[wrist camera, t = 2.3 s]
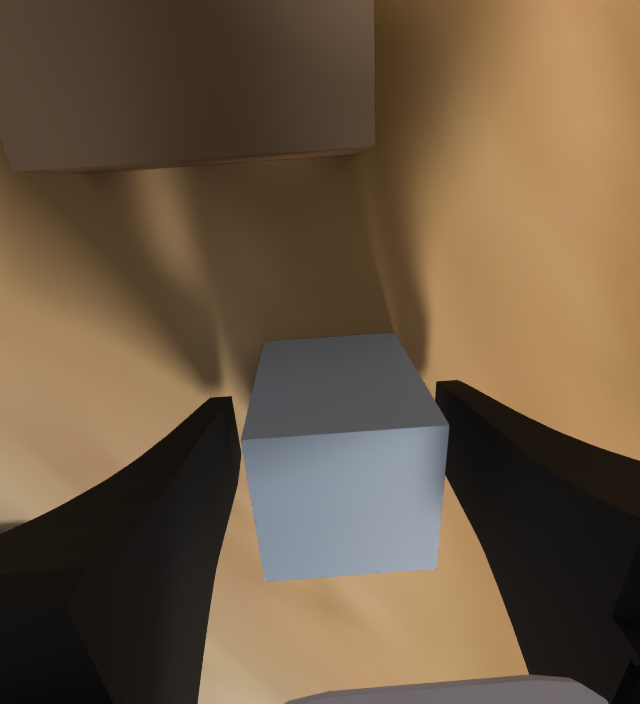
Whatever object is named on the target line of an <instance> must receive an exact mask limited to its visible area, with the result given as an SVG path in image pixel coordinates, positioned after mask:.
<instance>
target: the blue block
mask: <svg viewBox="0 0 640 704" xmlns="http://www.w3.org/2000/svg"><path fill="white" fill-rule="evenodd" d="M448 435H449V424H448V422H447V420H446V419H445V417H444V415H443V414H442V412H441V410H440V409H439V407H438V405H437V403H436V402H435V400H434V398H433V397H432V395H431V393H430V392H429V390H428V388H427V387H426V385H425V383H424V382H423V380H422V378H421V376H420V375H419V373H418V371H417V370H416V368H415V366H414V365H413V363H412V361H411V360H410V358H409V356H408V355H407V353H406V351H405V350H404V348H403V346H402V344H401V343H400V341H399V339H398V338H397V336H396V334H395V333H394V332H392V333H378V334H363V335H349V336H335V337H320V338H306V339H291V340H277V341H264V344H263V348H262V352H261V357H260V361H259V365H258V369H257V374H256V378H255V382H254V386H253V391H252V395H251V399H250V403H249V408H248V412H247V416H246V420H245V425H244V429H243V433H242V437H241V444H242V450H243V456H244V462H245V468H246V474H247V479H248V485H249V491H250V497H251V503H252V509H253V515H254V521H255V527H256V533H257V538H258V544H259V550H260V556H261V562H262V568H263V574H264V580H265V582H270V581H283V580H296V579H309V578H322V577H335V576H348V575H361V574H374V573H387V572H400V571H414V570H427V569H436V567H437V556H438V545H439V534H440V523H441V512H442V501H443V490H444V479H445V468H446V457H447V446H448Z"/></svg>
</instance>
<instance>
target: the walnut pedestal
mask: <svg viewBox="0 0 640 704" xmlns="http://www.w3.org/2000/svg"><path fill="white" fill-rule="evenodd" d="M0 140H1V143H2V146H3V148H4V151H5V154H6V157H7V160H8V163H9V166H10V169H11V171H12V172H29V173H71V174H86V173H101V172H115V171H129V170H143V169H157V168H171V167H185V166H199V165H214V164H228V163H242V162H256V161H270V160H284V159H298V158H312V157H327V156H341V155H355V154H359V153H362V152H364V151H366V150H368V149H371V148H373V147H375V39H374V0H0Z"/></svg>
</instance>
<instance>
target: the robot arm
mask: <svg viewBox="0 0 640 704" xmlns="http://www.w3.org/2000/svg"><path fill="white" fill-rule="evenodd" d="M435 402H436V403H437V405H438V407H439V409H440V410H441V412H442V414H443V415H444V417H445V419H446V420H447V422H448V424H449V435H448V446H447V457H446V468H445V475H446V477H447V479H448V481H449V483H450V485H451V487H452V489H453V491H454V493H455V495H456V496H457V498H458V500H459V502H460V504H461V506H462V508H463V510H464V512H465V514H466V516H467V518H468V520H469V522H470V523H471V525H472V527H473V529H474V531H475V533H476V535H477V537H478V539H479V541H480V544H481V546H482V548H483V550H484V552H485V555H486V557H487V560H488V562H489V565H490V568H491V570H492V573H493V575H494V578H495V580H496V583H497V585H498V588H499V591H500V593H501V596H502V599H503V601H504V604H505V607H506V610H507V612H508V615H509V618H510V620H511V623H512V626H513V629H514V631H515V634H516V637H517V640H518V643H519V646H520V649H521V652H522V655H523V658H524V660H525V663H526V666H527V669H528V672H529V675H519V676H507V677H495V678H483V679H471V680H459V681H447V682H435V683H423V684H411V685H399V686H387V687H375V688H363V689H351V690H338V691H328V692H324V693H320V694H316V695H311V696H307V697H303V698H299V699H294V700H290V701H288V702H286V703H285V704H640V461H638V460H635V459H632V458H629V457H626V456H623V455H620V454H617V453H613V452H610V451H607V450H605V449H602V448H599V447H596V446H593V445H591V444H588V443H586V442H583V441H581V440H578V439H576V438H573V437H570V436H568V435H565V434H563V433H561V432H558V431H556V430H554V429H552V428H549V427H547V426H545V425H543V424H541V423H539V422H537V421H535V420H533V419H531V418H528V417H526V416H525V415H523V414H521V413H519V412H517V411H515V410H513V409H511V408H509V407H507V406H505V405H504V404H502V403H500V402H498V401H496V400H494V399H493V398H491V397H489V396H487V395H485V394H484V393H482V392H480V391H478V390H476V389H475V388H473V387H471V386H469V385H467V384H465V383H463V382H461V381H458V380H452V381H438V382H436V396H435ZM240 461H241V449H240V443H239V437H238V431H237V425H236V420H235V414H234V408H233V402H232V396H228V397H214V398H210V399H208V400H207V401H206V402H205V403H203V404H202V405H201V406H200V407H199V408H198V409H197V410H195V411H194V412H193V413H192V414H191V415H190V416H189V417H188V418H187V419H185V420H184V421H183V422H182V423H181V424H180V425H179V426H177V427H176V428H175V429H174V430H173V431H172V432H171V433H169V434H168V435H167V436H166V437H165V438H163V439H162V440H161V441H159V442H158V443H157V444H156V445H154V446H153V447H152V448H151V449H149V450H148V451H147V452H146V453H144V454H143V455H142V456H140V457H139V458H138V459H136V460H135V461H134V462H132V463H131V464H129V465H128V466H126V467H125V468H123V469H122V470H120V471H119V472H117V473H116V474H114V475H113V476H111V477H110V478H108V479H107V480H105V481H103V482H102V483H100V484H98V485H96V486H95V487H93V488H91V489H89V490H88V491H86V492H84V493H82V494H81V495H79V496H77V497H75V498H74V499H72V500H70V501H68V502H66V503H65V504H63V505H61V506H59V507H57V508H55V509H53V510H51V511H49V512H47V513H45V514H43V515H41V516H39V517H37V518H35V519H33V520H30V521H28V522H26V523H24V524H22V525H20V526H18V527H15V528H13V529H11V530H9V531H6V532H4V533H2V534H0V704H197V703H198V695H199V686H200V678H201V670H202V662H203V654H204V647H205V640H206V633H207V625H208V618H209V611H210V605H211V598H212V592H213V585H214V579H215V573H216V568H217V564H218V559H219V555H220V551H221V547H222V543H223V539H224V535H225V532H226V528H227V524H228V520H229V516H230V513H231V509H232V505H233V501H234V497H235V493H236V489H237V485H238V478H239V470H240Z"/></svg>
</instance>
